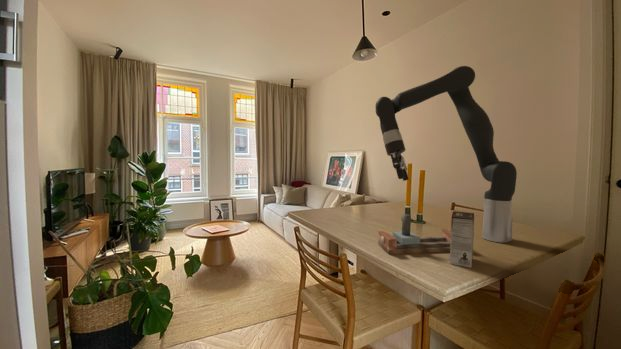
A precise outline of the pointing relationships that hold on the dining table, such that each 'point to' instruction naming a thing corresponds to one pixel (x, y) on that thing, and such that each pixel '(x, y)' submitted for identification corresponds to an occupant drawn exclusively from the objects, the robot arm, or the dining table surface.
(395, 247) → the rail
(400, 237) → the grey post blue base
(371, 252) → the dining table surface
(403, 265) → the dining table surface
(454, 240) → the coffee box
